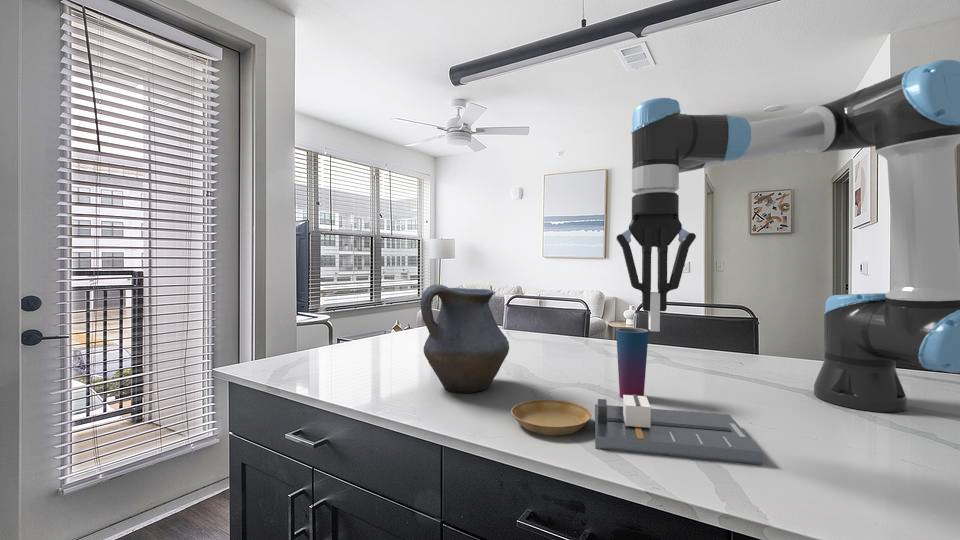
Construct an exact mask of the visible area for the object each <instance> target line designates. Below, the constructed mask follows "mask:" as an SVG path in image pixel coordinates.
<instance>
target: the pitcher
mask: <svg viewBox="0 0 960 540" xmlns="http://www.w3.org/2000/svg"><path fill="white" fill-rule="evenodd" d="M493 295H494V290H493V289H488V288H487V289H486V288H463V287H448V286H446V285H444V284H438V283H437V284H432V285H430V286H428V287H427V288H426V289H425V290H424V291H423V293H422V295H421V298H420V311H421V316H422V321H423V322H424V324H425V326H426V328H427V331H428V333H429V335H428V337H427V338H426V341H425V343H424V346H423V355H424V356H425V358H426V360H427V361H428V364H429V366H430V367H431V368H432V370H433V372H434V373H435V375H436V377H437V378H438V380H439V382H440V384H441V385H442V387H444V388H445V390H447V391H450V392H452V393H455V394H473V393H476V392H484V391H486V390H488V389H489V387H490V386H491V384H492V383H493V381H494V380H495V377H496V376H497V374H498V373H499V371H500V370H501V367H502V365H503V363H504V362H505V360H506V358H507V356H508V354H509V351H510V342H509V340H508V338H507V336H506V335H505V334H504V333H503V331H502V330H501V329H500V327H499V326H498V323H497V320H496V319H495V317H494V315H493V312H492V310H491V308H490V304H489V303H490V300H491V298H492V297H493ZM436 296H437V297H438V298H439V299H440V303H441V305H440V309H439V313H438V316H437V318H436V320H434V314H433V306H432V301H433V299H434V297H436Z"/></svg>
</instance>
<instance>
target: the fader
mask: <svg viewBox="0 0 960 540" xmlns="http://www.w3.org/2000/svg"><path fill="white" fill-rule="evenodd" d="M622 406H623V416H624V421H625V426H635V427H647V428H650V423H651V409H652V408H651V405H650V402H649V400H648V398H647V396H645V395H644V396H637V395H635V394H633V395H623V399H622Z"/></svg>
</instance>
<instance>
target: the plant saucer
mask: <svg viewBox="0 0 960 540" xmlns="http://www.w3.org/2000/svg"><path fill="white" fill-rule="evenodd" d="M510 413H511V414H512V416H513V418H514V419H515V420H516V422H518V424H519V425H520V426H522V427H523V428H524V429H525V430H527V431H529V432H531V433H534V434H537V435H544V436H552V437H553V436H566V435H572V434H574V433H578V431H580V430H581V429H582V428H584V427H585V426H586V425H587V424H588V422H589V421H590V420H591V418H592V412H591V411H590V410H589V409H588V408H587V407H584V406H582V405H581V404H578V403H574V402H571V401H567V400H566V401H565V400H559V399H549V398H547V399H533V400H526V401H522V402H520V403H517V404H515V405H514V406H513V407H512V408H511V410H510Z"/></svg>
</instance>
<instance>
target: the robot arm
mask: <svg viewBox="0 0 960 540" xmlns="http://www.w3.org/2000/svg"><path fill="white" fill-rule="evenodd" d="M681 111H682V110H681V108H680V102H679V101H678V100H677V99H673V98H670V97H658V98H652V99H647V100H645V101H643V102H640V103H639V104H637V106H635V107H634V110H633V114H632V123H631V125H632V126H631V131H630V133H631V144H632V145H631V146H632V147H631V149H632V150H631V151H632V161H631V163H632V164H631V165H632V166H631V167H632V170H631V192H632V193H633V194H635V195H633V196H632V197H631V221H630V223H629V225H628V228H627V229H626V231H623V232H622V233H621V234H620V233H619V234H618V235H616V236H615V237H616V238H615V240H616V241H617V243H618V244H619V246H620V248H621V249H622V253H623V257H624V261H625V266H626V269H627V274H628V277H629V280H630V281H629V282H630V284H631V285H630V286H631V287H632V288H633V289H636V290H637V291H640V292H641V297H642V298H641V308H642V310H643V311H644V312H648V331H649V332H661V329H660V328H661V312H666V311H667V308H668V307H667V306H668V304H667V303H668V300H667V296H668V295H667V294H668V292H670V291H674V290H677V289H678V288H679V286H680V283H681V279H682V275H683V271H684V267H685V265H686V264H685V263H686V261H687V258H688V257H687V256H688V253H689V249H690V247H691V245H692V244H693V242H695V240H696V239H697V235H696V234H695V233H694V232H689V231H687V230H686V229H685V228H683V224H682V222H681V221H680V218H679V217H680V215H679V212H680V211H679V210H680V209H679V207H680V206H679V204H680V203H679V201H680V200H679V194H678V193H676V191H678V190H679V189H680V173H686V172H692V171H696V170H700V169H705V168H706V169H707V168H713V167H717V166H725V165H729V164H735V163H741V162H747V161H754V160H758V159H763V158H769V157H775V156H781V155H782V156H783V155H786V154H792V153H793V154H794V153H797V152H798V153H799V152H803V151H804V152H805V153H807V154H820V153H828V152H837V151H847V150H859V149H866V148H873V147H875V153H876V154H877V155H879V156H880V157H883V158H884V159H885V160H886V161H887V162H886V163H887V177H888V179H887V180H888V191H889V195H888V196H889V207H890V209H889V210H890V222H891V223H890V224H891V225H890V227H891V240H892V241H891V242H892V252H893V253H892V257H893V272H894V286H893V288H892V289H891V290H889V291H888V292H884V293H882V292H881V293H849V294H835V295H834V294H833V295H830V296H829V297H828V298H826V302H825V311H824V312H823V314H824V315H823V316H824V317H823V318H824V329H823V330H824V338H823V339H824V341H823V342H824V346H823V347H824V358H823V363H822V366H821V368H820V370H819V372H818V374H817V377H816V379H815V381H814V384H813V395H814V397H816V398H818V399H820V400H822V401H824V402H828V403H831V404H834V405H838V406H841V407H846V408H851V409H857V410H862V411H868V412H870V411H871V412H879V413H881V412H882V413H897V412H898V413H899V412H903V411H906V410H907V400H908V398H907V396H906V393H905V391H904V388H903V384H902V383H901V380H900V377H899V375H898V373H897V369H896V367H897V366H896V362H899V363H904V364H908V365H913V366H915V367H916V366H917V367H921V368H924V369H926V370H931V371H935V372H936V371H941V372H946V373H952V374H960V231H959V215H958V212H959V211H958V198H957V197H958V196H957V195H958V193H957V181H956V180H957V178H956V164H955V163H956V162H955V160H956V159H955V149H956V147H957V146H958V145H960V61H959V60H954V59H940V60H935V61H931V62H928V63H925V64H922V65H920V66H919V65H918V66H913V67H912V68H910V69H908V70H907V71H905V72H902V73H899V74H897V75H894V76H892V77H890V78H888V79H887V78H886V79H884V80H882V81H879V82H877V83H874V84H872V85H870V86H867V87H864V88H862V89H859V90H857V91H854V92H853V93H850V94H848V95H845V96H842V97H840V98H838V99H836V100H834V101H833V100H832V101H831V102H827V103H824V104H821V105H814V106H811V107H810V106H809V108H807V109H805V111H803V112H802V113H798V114H797V113H796V114H792V115H784V116H779V117H774V118H769V119H767V118H766V119H763V120H762V119H761V120H756V121H748V120H747V119H746V118H744V117H743V116H739V115H738V116H736V115H728V114H724V115H722V114H721V115H720V114H718V115H717V114H711V115H710V114H687V113H682V112H681ZM631 236H632V237H631ZM677 236H678V242H679V244H678V248H677V252H676V254H675V259H674V263H673V266H672V271H671V274H670V278H669V282H668V250H669V246H670V245H671V244H672V242H673V241H674V240H675V238H676V237H677ZM632 238H634V239H635V241H636V242H637V243H638V245H639V246H641V256H642V257H641V258H642V259H641V260H642V261H641V282H640V280H639V277H638V272H637V268H636V263H635V260H634V255H633V253H632V248H631V245H630V244H631V242H632ZM654 247H655V248H657V251H656V252H657V291H652V252H653V248H654Z"/></svg>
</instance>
